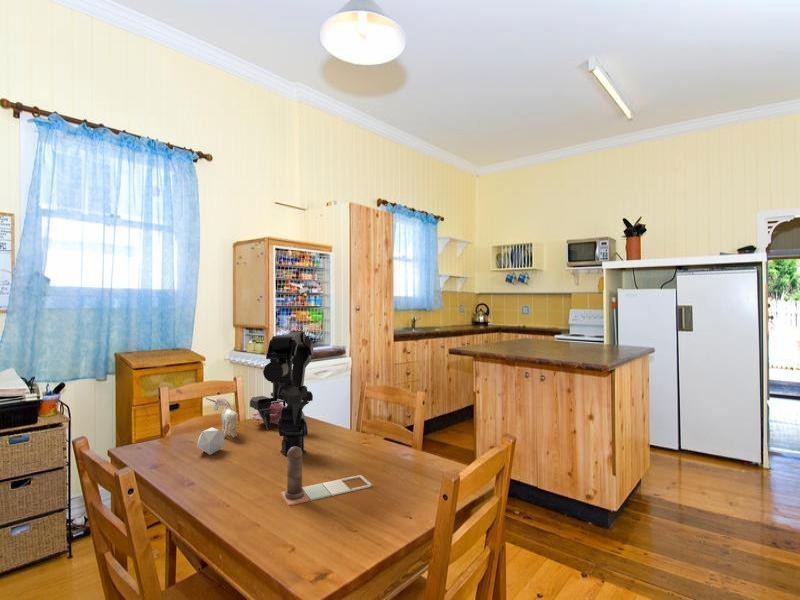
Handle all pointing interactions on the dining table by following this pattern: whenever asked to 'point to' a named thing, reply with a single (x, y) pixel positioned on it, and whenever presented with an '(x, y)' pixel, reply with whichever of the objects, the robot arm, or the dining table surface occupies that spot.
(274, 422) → the flower
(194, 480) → the dining table surface
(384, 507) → the dining table surface
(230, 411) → the unicorn figurine
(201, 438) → the die
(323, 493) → the strip
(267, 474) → the dining table surface
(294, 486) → the walnut pawn
